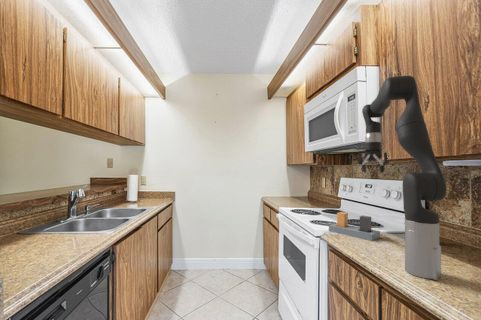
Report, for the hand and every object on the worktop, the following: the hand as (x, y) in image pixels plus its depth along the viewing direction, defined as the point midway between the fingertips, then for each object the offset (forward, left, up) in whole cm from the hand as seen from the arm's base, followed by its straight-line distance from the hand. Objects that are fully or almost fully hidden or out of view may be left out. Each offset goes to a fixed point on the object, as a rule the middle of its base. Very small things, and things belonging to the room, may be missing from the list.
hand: (373, 172), depth 129 cm
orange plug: (+12, +9, -32) cm, 35 cm away
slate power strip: (+6, +9, -32) cm, 34 cm away
